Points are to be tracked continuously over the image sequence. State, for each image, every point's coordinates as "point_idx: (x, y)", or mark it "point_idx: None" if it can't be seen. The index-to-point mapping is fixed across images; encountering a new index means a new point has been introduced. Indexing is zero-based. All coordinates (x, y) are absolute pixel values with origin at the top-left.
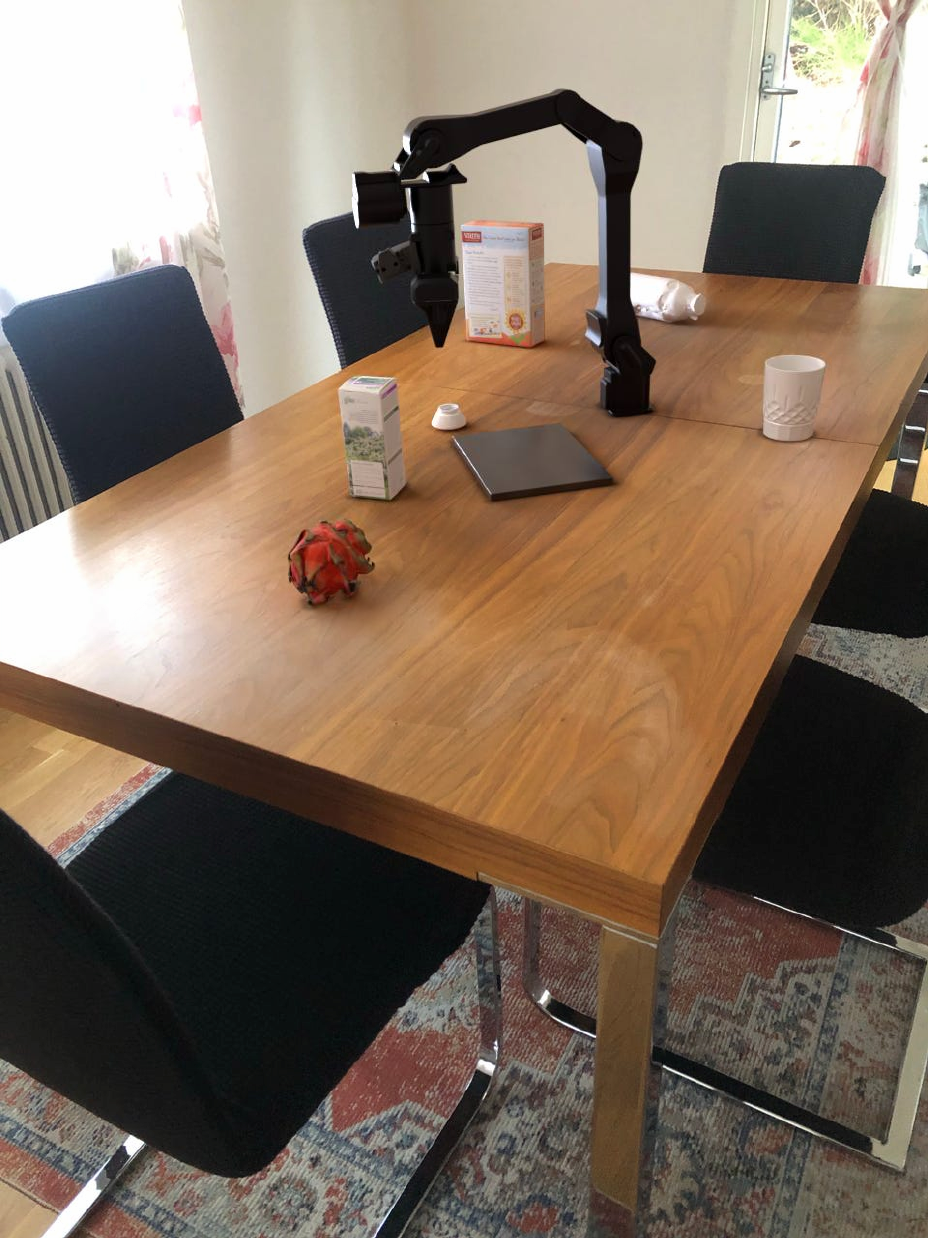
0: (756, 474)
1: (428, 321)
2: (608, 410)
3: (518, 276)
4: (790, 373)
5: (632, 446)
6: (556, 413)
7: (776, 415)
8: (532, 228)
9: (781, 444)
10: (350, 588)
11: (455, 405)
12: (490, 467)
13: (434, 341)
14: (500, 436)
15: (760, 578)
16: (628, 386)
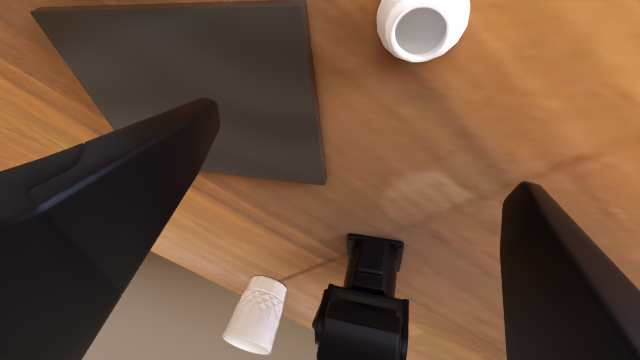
0: (186, 240)
1: (46, 157)
2: (363, 237)
3: None
4: (224, 333)
5: (252, 209)
6: (396, 197)
7: (246, 295)
8: None
9: (247, 273)
10: None
11: (426, 56)
12: (136, 40)
13: (177, 108)
14: (281, 96)
15: (6, 168)
16: (345, 276)
